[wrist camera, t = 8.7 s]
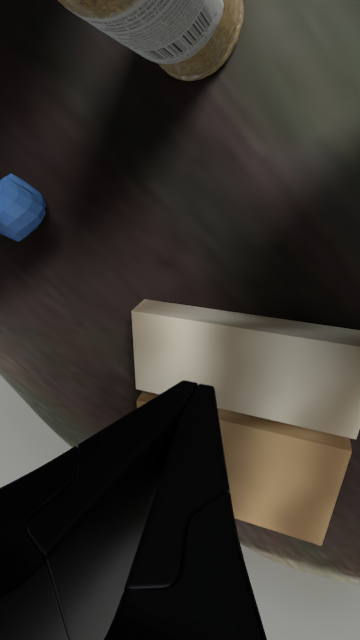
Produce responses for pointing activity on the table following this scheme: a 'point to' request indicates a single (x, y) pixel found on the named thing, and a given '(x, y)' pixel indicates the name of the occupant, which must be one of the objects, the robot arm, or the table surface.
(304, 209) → the table surface
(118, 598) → the robot arm
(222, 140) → the table surface
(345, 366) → the ash board
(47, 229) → the table surface
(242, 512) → the oak plank
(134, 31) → the sprinkles bottle
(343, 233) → the table surface
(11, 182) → the grapes
